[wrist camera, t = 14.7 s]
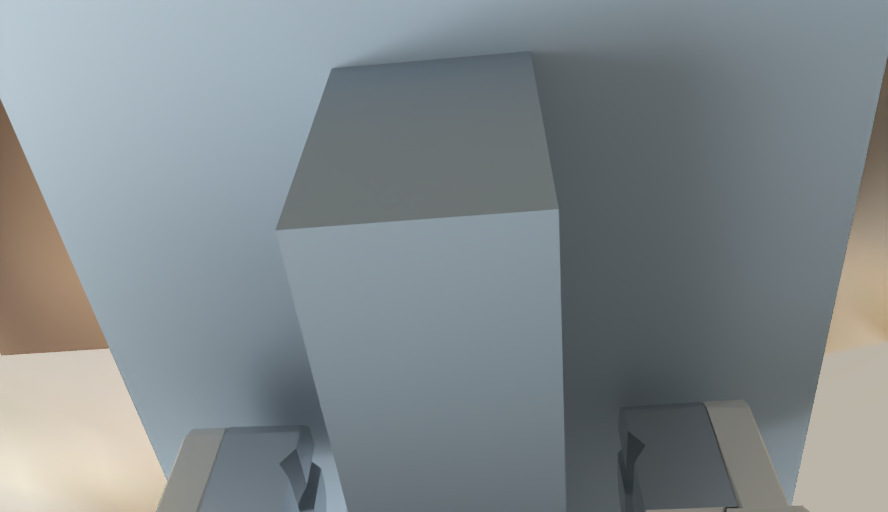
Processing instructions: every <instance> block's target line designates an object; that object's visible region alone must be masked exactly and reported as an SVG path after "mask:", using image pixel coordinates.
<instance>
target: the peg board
mask: <svg viewBox="0 0 888 512" xmlns="http://www.w3.org/2000/svg"><path fill="white" fill-rule="evenodd" d="M107 348H109V346H108V344H107V342H106V339H105V337H104V335H103V332H102V330H101V328H100V326H99V323H98V321H97V319H96V316H95V314H94V312H93V310H92V307H91V305H90V303H89V300H88V298H87V296H86V293H85V291H84V289H83V287H82V284H81V282H80V280H79V277H78V275H77V273H76V271H75V268H74V266H73V264H72V261H71V259H70V257H69V255H68V252H67V250H66V248H65V245H64V243H63V241H62V239H61V236H60V234H59V232H58V229H57V227H56V225H55V223H54V220H53V218H52V216H51V213H50V211H49V209H48V206H47V204H46V202H45V200H44V197H43V195H42V193H41V190H40V188H39V186H38V184H37V181H36V179H35V177H34V174H33V172H32V170H31V168H30V165H29V163H28V161H27V158H26V156H25V154H24V152H23V149H22V147H21V145H20V142H19V140H18V138H17V135H16V133H15V131H14V129H13V126H12V124H11V122H10V119H9V117H8V115H7V113H6V110H5V108H4V106H3V103H2V101H1V99H0V354H1V355H14V354H29V353H45V352H60V351H76V350H91V349H107Z"/></svg>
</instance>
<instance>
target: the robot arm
mask: <svg viewBox="0 0 888 512" xmlns="http://www.w3.org/2000/svg"><path fill="white" fill-rule="evenodd" d="M618 431H619V436H620V441H621V446H622V449H621V450H620V451H619V452H618V453H617V476H618V493H619V500H620V507H621V512H809V511H808V510H807V509H806V508H805V507H803V506H789V504H788V501H787V499H786V496H785V494H784V492H783V489H782V487H781V484H780V482H779V479H778V477H777V474H776V472H775V469H774V467H773V464H772V462H771V459H770V457H769V454H768V452H767V449H766V447H765V444H764V442H763V439H762V437H761V434H760V432H759V429H758V427H757V424H756V422H755V419H754V417H753V414H752V412H751V409H750V407H749V405H748V404H747V403H746V402H745V401H744V400H743V399H739V400H723V401H707V402H701V403H699V402H691V403H675V404H659V405H644V406H628V407H620V411H619V419H618ZM314 446H315V444H314V441H313V438H312V434H311V431H310V428H309V427H308V426H306V425H283V426H249V427H230V428H205V429H192V430H191V431H190V432H189V433H188V434H187V435H186V436H185V438H184V439H183V441H182V444H181V447H180V449H179V452H178V455H177V457H176V460H175V462H174V465H173V468H172V470H171V473H170V476H169V478H168V481H167V483H166V486H165V489H164V491H163V494H162V497H161V499H160V502H159V504H158V507H157V510H156V512H326V499H327V498H326V490H325V482H324V478H323V474H322V470H321V468H320V467H319V466H317V465H316V464H315V463H313V462H312V456H313V451H314Z"/></svg>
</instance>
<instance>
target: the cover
mask: <svg viewBox="0 0 888 512" xmlns="http://www.w3.org/2000/svg"><path fill="white" fill-rule="evenodd" d="M887 57H888V0H0V99H1V101H2V103H3V106H4V108H5V110H6V113H7V115H8V117H9V119H10V122H11V124H12V126H13V129H14V131H15V133H16V135H17V138H18V140H19V142H20V145H21V147H22V149H23V152H24V154H25V156H26V158H27V161H28V163H29V165H30V168H31V170H32V172H33V174H34V177H35V179H36V181H37V184H38V186H39V188H40V190H41V193H42V195H43V197H44V200H45V202H46V204H47V206H48V209H49V211H50V213H51V216H52V218H53V220H54V223H55V225H56V227H57V229H58V232H59V234H60V236H61V239H62V241H63V243H64V245H65V248H66V250H67V252H68V255H69V257H70V259H71V261H72V264H73V266H74V268H75V271H76V273H77V275H78V277H79V280H80V282H81V284H82V287H83V289H84V291H85V293H86V296H87V298H88V300H89V303H90V305H91V307H92V310H93V312H94V314H95V316H96V319H97V321H98V323H99V326H100V328H101V330H102V332H103V335H104V337H105V339H106V342H107V344H108V346H109V348H110V351H111V353H112V355H113V358H114V360H115V362H116V364H117V367H118V369H119V371H120V374H121V376H122V378H123V380H124V383H125V385H126V387H127V390H128V392H129V394H130V397H131V399H132V401H133V403H134V406H135V408H136V410H137V413H138V415H139V417H140V419H141V422H142V424H143V426H144V429H145V431H146V433H147V435H148V438H149V440H150V442H151V445H152V447H153V449H154V451H155V454H156V456H157V458H158V461H159V463H160V465H161V467H162V470H163V472H164V474H165V477H166V479H167V481H168V478H169V476H170V473H171V470H172V468H173V465H174V462H175V460H176V457H177V455H178V452H179V449H180V447H181V444H182V441H183V439H184V438H185V436H186V435H187V434H188V433H189V432H190V431H191V430H192V429H205V428H230V427H249V426H283V425H306V426H308V427H309V428H310V431H311V434H312V438H313V441H314V444H315V446H314V451H313V456H312V462H313V463H315V464H316V465H317V466H319V467H320V468H321V470H322V474H323V478H324V482H325V490H326V498H327V499H326V512H621V507H620V500H619V493H618V476H617V453H618V452H619V451H620V450H621V449H622V446H621V441H620V436H619V431H618V419H619V411H620V407H628V406H644V405H659V404H675V403H691V402H699V403H701V402H707V401H723V400H739V399H743V400H744V401H745V402H746V403H747V404H748V405H749V407H750V409H751V412H752V414H753V417H754V419H755V422H756V424H757V427H758V429H759V432H760V434H761V437H762V439H763V442H764V444H765V447H766V449H767V452H768V454H769V457H770V459H771V462H772V464H773V467H774V469H775V472H776V474H777V477H778V479H779V482H780V484H781V487H782V489H783V492H784V494H785V496H786V499H787V501H788V504H789V506H791V505H792V501H793V495H794V491H795V487H796V482H797V477H798V473H799V468H800V463H801V459H802V453H803V449H804V444H805V440H806V435H807V430H808V425H809V421H810V416H811V411H812V407H813V403H814V398H815V393H816V389H817V384H818V379H819V375H820V370H821V365H822V361H823V356H824V351H825V347H826V342H827V337H828V333H829V328H830V323H831V319H832V314H833V309H834V305H835V300H836V295H837V291H838V286H839V281H840V277H841V272H842V267H843V263H844V258H845V253H846V249H847V244H848V239H849V235H850V230H851V225H852V221H853V216H854V211H855V207H856V202H857V197H858V193H859V188H860V183H861V179H862V174H863V169H864V165H865V160H866V155H867V151H868V146H869V141H870V137H871V132H872V127H873V123H874V118H875V113H876V109H877V104H878V99H879V95H880V90H881V85H882V81H883V76H884V71H885V67H886V62H887Z"/></svg>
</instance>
